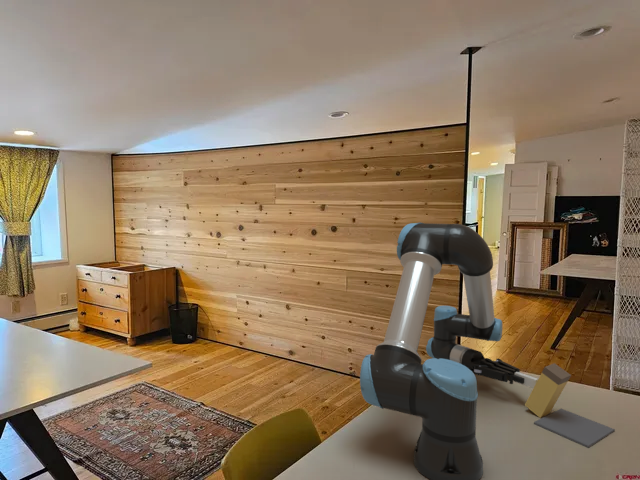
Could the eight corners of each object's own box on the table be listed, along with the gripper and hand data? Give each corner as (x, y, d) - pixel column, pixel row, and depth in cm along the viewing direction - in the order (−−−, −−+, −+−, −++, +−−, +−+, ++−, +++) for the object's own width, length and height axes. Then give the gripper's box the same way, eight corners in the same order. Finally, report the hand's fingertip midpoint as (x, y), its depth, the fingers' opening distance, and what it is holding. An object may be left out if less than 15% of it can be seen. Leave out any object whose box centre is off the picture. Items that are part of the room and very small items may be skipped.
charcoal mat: (588, 447, 105) (588, 445, 105) (533, 423, 116) (533, 422, 116) (614, 431, 113) (614, 429, 113) (561, 410, 124) (561, 408, 124)
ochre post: (540, 418, 120) (561, 379, 114) (524, 405, 123) (544, 367, 118) (549, 413, 122) (571, 375, 117) (534, 400, 126) (554, 363, 121)
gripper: (479, 366, 147) (548, 391, 127) (454, 374, 139) (523, 402, 120) (480, 344, 146) (549, 366, 126) (455, 352, 139) (524, 376, 119)
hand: (536, 384), depth 123 cm, fingers closed
